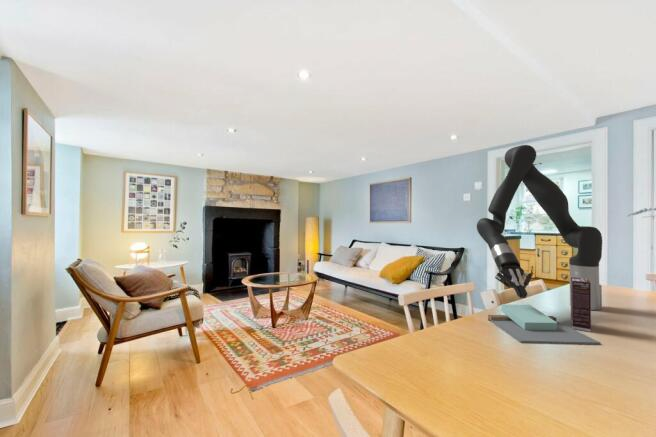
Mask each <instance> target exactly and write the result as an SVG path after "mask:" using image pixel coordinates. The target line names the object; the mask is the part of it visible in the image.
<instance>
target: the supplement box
mask: <svg viewBox="0 0 656 437" xmlns="http://www.w3.org/2000/svg"><path fill="white" fill-rule="evenodd" d="M591 313H592V310H591V283H590V281H589V280H588V279H586V278H575V277H571V305H570V324H571V329H573V330H576V331H583V332H589V333H590V332H592V330H591V329H592V323H591V322H592V319H591V318H592V317H591V316H592V314H591Z"/></svg>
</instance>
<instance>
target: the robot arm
mask: <svg viewBox="0 0 656 437" xmlns="http://www.w3.org/2000/svg"><path fill="white" fill-rule="evenodd" d="M536 158H537V151H536V149H535V148H534V147H533V146H531V145H529V144H522V145H518V146H517V145H516V146H514V147H512V148H510V149H507V151H506V152H505V154H504V162H505V165H506V166H507V167H508V168H509V169H508V171H507V173H506V176H505V178H504V179H503V180H502V182H501V184H500V185H499V187H497V189H496V191H495V193H494V194H493V196H492V199H491V201H490V204H489V206H488V208H487V210H488V211H487V212H489V213H490V214H492V216H493V217H492V219H490V218H489V217H482V218H480V219H479V220H478V221H477V223H476V231H477V233H478V234H479V236H480V238H482V239H483V241H484V242H485V243H486V244H487V247H488V248H489V251H490V253H491V257H492V259H493V261H494V263H495V265H496V267H497V269H498V272H497V273H496V275H495V276H494V278H495V279H496V280H497V281H498V282H500V283H501V284H502V285H504V286H505V287H507V288H509V289H510V288H512V289H514V291H515V294H516V296H518V297H519V298H520V299H526V298H527V296H528V292H527V290H526V288H527V287H528V285H529V284H530V281H531V279H532V277H533V273H532V272H529V273H527V272H525V271H524V269H523V268H522V267H521V262H519V261H520V260H518V257H517V255H516V254H515V252H514V250H513V249H512V247H511V246H510V244H509V242H508V240H507V238H506V237H505V236H504V235H502V234H503V233H504V230H505V226H506V219H507V218H506V217H507V213H508V210H509V208H510V206H511V204H512V201H513V199H514V196H515V195H516V192H517V190H518V188H519V186H520V185H521V184H523V185H524V186H525V187H526V189H527V190H528V191H529V193H530V194H531V196H532V197H533V198H534V200H535V201H536V202H537V203H538V205H539V207H541V209H542V210H543V211H544V213H546V215H547V217H549V220H551V222H552V223H553V224H554V226H555V227H556V229H557V231H558V232H559V234H560V236H561V238H562V239H563V240H564V242H565V244H567V245H568V246H570V247H572V248H575V249H577V253H576V254H575V255H574V256H571V257H570V258H568V259H569V262H568V264H569V265H568V266H569V270H568V271H569V305H570V306H571V277H575V278H586V279H588V280H589V281H590V283H591V311H599V310H600V309H603V304H602V303H603V301H602V300H603V298H602V295H603V294H602V292H603V291H602V290H603V289H602V287H603V286H602V285H601V283H600V262H601V260H602V254H603V236H602V233H601V231H600V230H599V229H598V228H597V227H595V226H583V225H581V226H580V225H578V223H577V222H576V221H575V220H574V219H573V217H572V216H571V215H570V211H569V202H568V201H569V200H568V198H567V196H566V195H565V193H564V192H563V191H562V189H561V187H560V186H559V185H558V184H557V183H555V182H554V181H553V180H551V178H550V177H547V176H546V175H545V174H543V173H542V172H540V171H539V170H538V169H537V167H536V166H535V165H534V163H535V161H536ZM523 280H524V281H523Z"/></svg>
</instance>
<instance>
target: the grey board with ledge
mask: <svg viewBox="0 0 656 437" xmlns="http://www.w3.org/2000/svg"><path fill="white" fill-rule="evenodd" d="M547 316H548V317H549V318H551V319H552V320H554V321H556V322H557V330H524V329H523V328H522V327H520V326H519V325H518V324H517V323H515V322H514V321H513V320H512V319H510V318H509V317H508V316H507V315H506V314H502V315H501V314H488V315H487V320H488V321H489V322H490V321H491V322H490V323H492V324H493V323H494V324H493V325H495V326H496V327H498V328H499V329H501V330H502V331H503V332H505V333H506V334H508V335H509V336H510V337H512V338H513V339H515V340H516V341H518V342H519V343H521V344H553V345H554V344H555V345H557V344H558V345H559V344H561V345H563V344H565V345H596V346H597V345H602V343H601V341H598V340H596V339H594V338H592V337H591V336H588V335H586V334H584V333H581V332H580V331H579V330H576V329H573V328H572V327H570V326H567V325H565V324H563V323H561V322H558V321H557V317H555V316H554V315H547Z"/></svg>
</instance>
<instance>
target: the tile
mask: <svg viewBox="0 0 656 437" xmlns="http://www.w3.org/2000/svg"><path fill="white" fill-rule="evenodd" d="M500 312H501V313H503V315H507V316H508V317H509V318H510V319H512V320H513V321H514V322H515V323H517V324H518V325H519V326H520V327H522V328H523V329H524V330H557V322H558V321H557V320H556V321H557V322H556V321H554V320H552V319H551V318H549V317H548V316H549V315H546V314H544V313H543V312H542V311H540V310H539V309H537V308H536V307H534V306H533V305H531V304H519V303H518V304H511V303H510V304H508V303H507V304H505V303H504V304H503V303H502V304H501V306H500Z"/></svg>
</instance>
